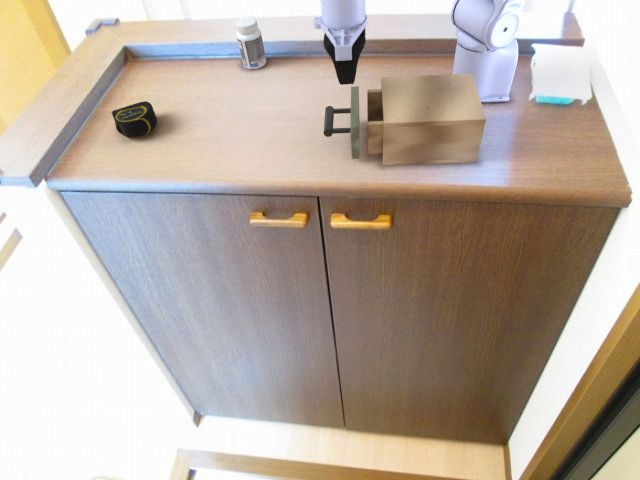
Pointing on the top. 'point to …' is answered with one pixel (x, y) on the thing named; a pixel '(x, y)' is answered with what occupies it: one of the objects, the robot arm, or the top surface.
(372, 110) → the drawer
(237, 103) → the top surface
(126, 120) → the tape measure
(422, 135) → the cabinet
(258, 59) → the pill bottle
